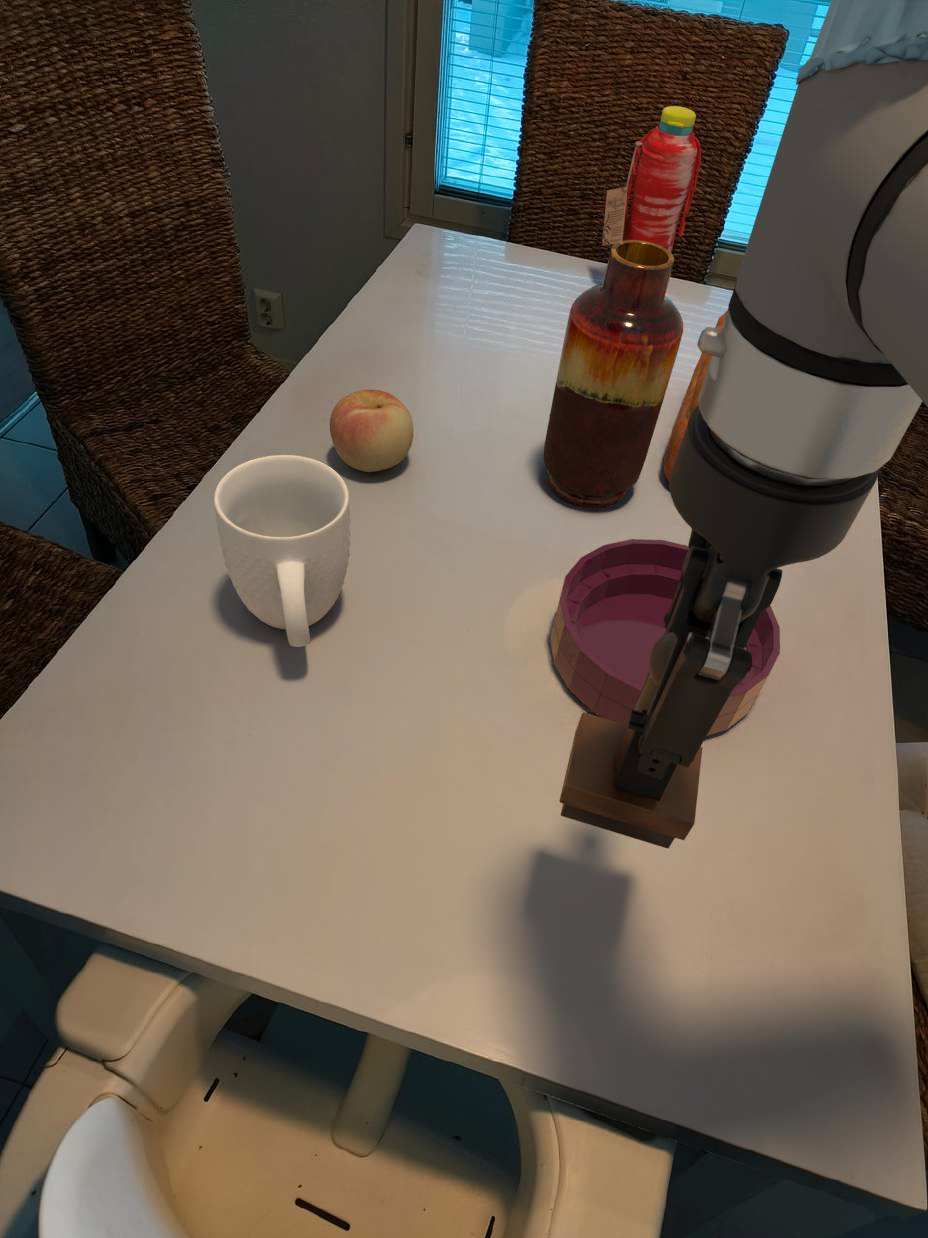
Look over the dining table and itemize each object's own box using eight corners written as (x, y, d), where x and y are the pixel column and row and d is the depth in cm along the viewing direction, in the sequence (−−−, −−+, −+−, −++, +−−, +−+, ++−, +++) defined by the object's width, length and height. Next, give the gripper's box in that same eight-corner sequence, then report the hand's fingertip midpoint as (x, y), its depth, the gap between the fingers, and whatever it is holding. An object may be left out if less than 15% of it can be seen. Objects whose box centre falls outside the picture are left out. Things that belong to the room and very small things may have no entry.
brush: (683, 781, 55) (772, 623, 44) (674, 857, 51) (769, 705, 40) (569, 747, 56) (628, 583, 45) (552, 819, 52) (611, 660, 41)
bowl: (798, 711, 76) (825, 668, 71) (611, 769, 70) (628, 726, 65) (685, 568, 88) (702, 523, 83) (516, 607, 82) (525, 561, 77)
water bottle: (582, 292, 128) (619, 106, 109) (592, 271, 133) (628, 90, 115) (661, 310, 126) (712, 124, 108) (668, 287, 131) (717, 106, 113)
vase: (522, 461, 97) (561, 230, 78) (607, 447, 101) (665, 223, 82) (563, 522, 91) (617, 286, 72) (653, 505, 94) (727, 276, 75)
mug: (366, 674, 74) (366, 566, 65) (236, 690, 72) (217, 580, 62) (342, 558, 84) (340, 449, 74) (227, 569, 81) (210, 457, 72)
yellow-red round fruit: (316, 462, 94) (313, 400, 88) (368, 428, 99) (369, 367, 93) (377, 496, 91) (378, 434, 85) (427, 459, 96) (432, 398, 90)
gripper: (713, 319, 39) (605, 652, 56) (664, 530, 28) (550, 861, 46) (879, 357, 38) (718, 685, 55) (893, 591, 27) (688, 907, 44)
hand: (642, 764), depth 50 cm, fingers closed on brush, 3 cm apart
